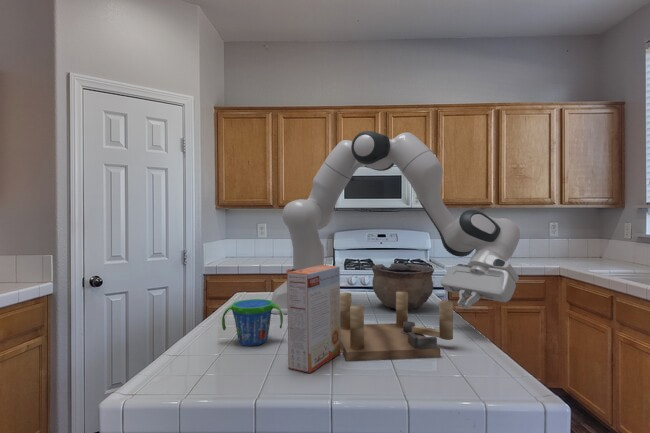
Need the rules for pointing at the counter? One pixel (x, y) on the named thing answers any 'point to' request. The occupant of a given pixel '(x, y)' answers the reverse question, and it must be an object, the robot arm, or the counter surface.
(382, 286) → the ceramic bowl
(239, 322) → the snack cup
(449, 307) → the leg
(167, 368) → the counter surface
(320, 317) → the cracker box
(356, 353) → the stool
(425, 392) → the counter surface
